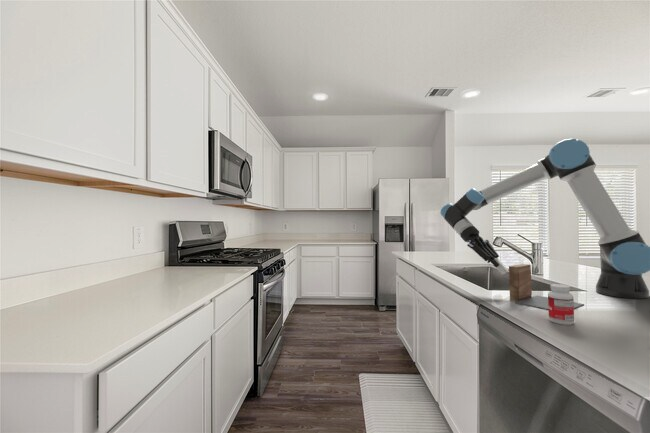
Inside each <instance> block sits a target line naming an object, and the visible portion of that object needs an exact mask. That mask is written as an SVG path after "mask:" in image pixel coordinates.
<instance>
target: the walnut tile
mask: <svg viewBox="0 0 650 433" xmlns="http://www.w3.org/2000/svg"><path fill="white" fill-rule="evenodd" d="M531 267H532V265H531V264H528V263H519V264H514V265H509V266H508V279H509V280H508V281H509V284H508V285H509V300H510V301H514V302H517V301H520V300H524V299H527V298H530V297H533V295H532V294H533V289H532V268H531Z"/></svg>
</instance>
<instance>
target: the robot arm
mask: <svg viewBox="0 0 650 433" xmlns="http://www.w3.org/2000/svg"><path fill="white" fill-rule="evenodd" d="M590 152H591V151H590V149H589V146H588V144H587V143H586V142H584V141H583V140H581V139H577V138H567V139H562V140H561V141H559V142H557V143H555V144H554V145H553V146H552V147H551V148H550V150H549V153H548V154H547V155H545V157H543V158H541V159H539V160H538V161H537V162H536V163H535V164H533V165H532V166H530V167H527V168H524V169H523V170H521V171H519V172H516V173H515V174H512V175H511V176H508V177H506V178H504V179H502V180H500V181H498V182H496V183H494V184H492V185H490V186H487V187H486V188H484V189H483V188H482V190H479V191H478V190H477V189H476V188H474V187H473V188H470V189H469V190H468V191H466V193H465V194H464V195H463V196H462V197H461V198H459V199H458V200H457V201H456V202H455V203H447V204H446V205H443V207H441V209H440V212H439V213H440V215H441V216H442V218H443V219H444V220H445V222H446V223H447V224H448V225H449V226H450V227H451V228H452V229H453V230H454V231H455V232H456V234H458V235H459V236H460V238H461V239H462V240H463V241H464V242H465V243H467V245H466V246H467V247H468V248H469V249H471V250H472V251H474V253H476V254H477V255H478V256H479V257H480V258H481V259H483V260H484V261H486V262H487V263H488V264H490V263H491V264H492V266H494V267H495V268H496V269H497V271H498V272H499V273H500V275H505V274H506V273H507V272H509V268H507V267H506V266H505V265H504V264H503V262H502V261H501V260H500V259H499V257H500V255H499V254H498V252H497V251H496V249H495V248H494V247H493V246H492V245H491V243H490V241H489V239H483V237H481V236H480V230H478V228H476V226H475V225H474V224H473V223H472V222H471V221H470V220H469V219H468V218H467V217H466V216H468V215H469V214H470V213H471V212H472V211H478V210H481V209H482V208H483V207H485V206H488V205H489V204H492V203H494V202H496V201H499V200H500V199H503V198H505V197H508V196H509V195H510V196H511V195H512V194H514V193H516V192H517V193H518V191H520V190H523V189H526V188H528V187H530V186H532V185H534V184H536V183H539V182H541V181H544V180H546V179H547V180H551V179H553V178H556V177H559V180H560V181H565V182H567V184H568V185H569V187H570V189H571V191H572V192H573V194H574V196H575V197H576V199H577V200H578V202H579V203H580V205H581V208H582V209H583V211H584V212H585V214H586V216H587V218H588V219H589V221H590V222H591V224H592V226H593V227H594V229H595V231H596V232H597V234H598V236H599V240H598V242H597V245H598V246H599V250H600V251H599V252H600V256H599V258H600V275H599V277H598V280H597V282H596V284H595V292H596V293H598V294H601V295H606V296H610V297H611V296H612V297H615V298H616V297H617V298H627V299H648V298H650V290H649V288H648V286H647V284H646V282H645V280H644V278H643V274H646V273H648V272H650V246H649V245H648V244H646V242H645V240H644V238H643V237H642V236H641V234H640V232H639V231H637V230H635V229H631V228H630V227H629V226H628V224H627V222H626V221H625V219H624V217H623V216H622V214H621V213H620V211H619V209H618V208H617V206H616V205H615V203H614V201H613V199H612V198H611V196H610V194H609V193H608V192H607V190H606V189H605V187H604V185H603V183H602V181H601V180H600V179H599V177H598V175H597V174H596V172H595V168H596V166H597V163H596V162H595V161H594V159H593V157H592V156H591V153H590Z"/></svg>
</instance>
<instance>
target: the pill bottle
mask: <svg viewBox="0 0 650 433" xmlns="http://www.w3.org/2000/svg"><path fill="white" fill-rule="evenodd" d="M570 291H571V286H570V285H568V284H564V283H563V284H561V283H551V284H550V291H549V292H548V293H547V297H548V309H549V310H548V320H549V321H550V322H552V323H554V324H558V325H564V326H568V325H569V326H570V325H574V324H575V309H574V302H575V301H574V295H573V294H572V293H570Z"/></svg>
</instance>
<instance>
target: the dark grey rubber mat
mask: <svg viewBox="0 0 650 433" xmlns="http://www.w3.org/2000/svg"><path fill="white" fill-rule="evenodd" d="M514 302H515V303H514V304H518V305H521V306H522V305H523V306H526V307H531V308H536V309H542V310H545V309H546V310H545V311H549V309H548V296H542V295H534V296H532V297H530V298H527V299H524V300H520V301H514ZM580 306H581V307H583V306H585V303H581V302H575V301H574V310H575V308H576V309H578V308H581V307H580ZM577 307H578V308H577Z"/></svg>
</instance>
